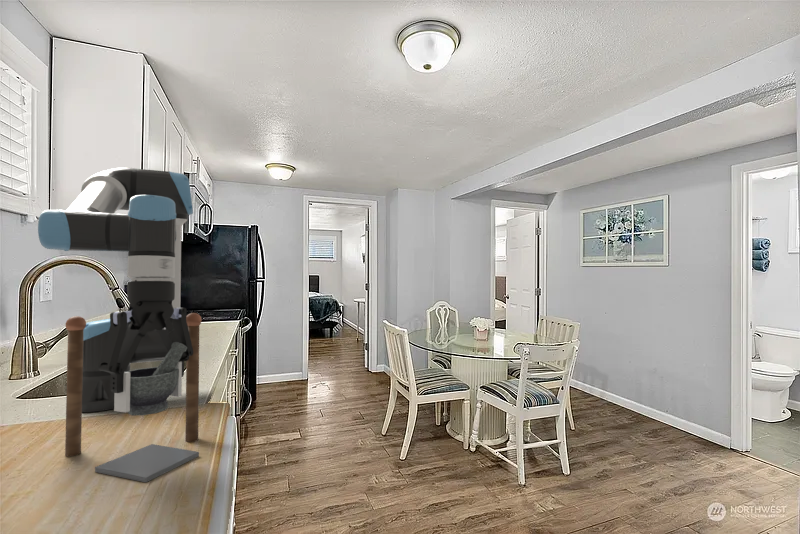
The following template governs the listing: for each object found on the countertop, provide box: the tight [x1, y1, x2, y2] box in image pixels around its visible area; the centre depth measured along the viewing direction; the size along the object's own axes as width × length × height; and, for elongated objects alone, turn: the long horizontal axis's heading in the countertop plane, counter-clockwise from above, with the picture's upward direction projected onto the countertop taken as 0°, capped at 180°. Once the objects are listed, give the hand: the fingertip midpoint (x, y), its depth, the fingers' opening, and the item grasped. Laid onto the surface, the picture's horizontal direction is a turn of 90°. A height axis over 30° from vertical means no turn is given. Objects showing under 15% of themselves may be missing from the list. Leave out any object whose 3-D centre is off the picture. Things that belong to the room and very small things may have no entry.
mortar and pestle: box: [126, 342, 187, 416], centre depth 77 cm, size 11×9×12 cm
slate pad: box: [94, 443, 200, 483], centre depth 76 cm, size 11×12×1 cm
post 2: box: [184, 312, 202, 443], centre depth 88 cm, size 3×3×26 cm
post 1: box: [64, 315, 87, 457], centre depth 81 cm, size 3×3×26 cm
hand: (149, 402), depth 76 cm, fingers closed on mortar and pestle, 10 cm apart
